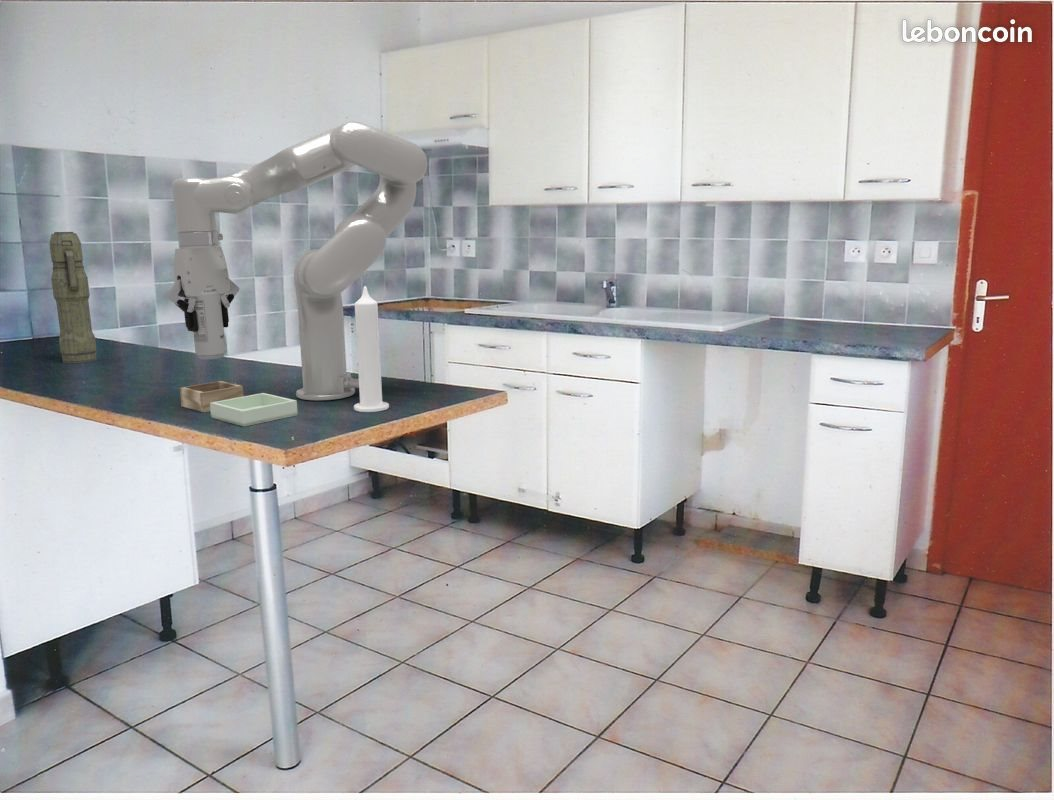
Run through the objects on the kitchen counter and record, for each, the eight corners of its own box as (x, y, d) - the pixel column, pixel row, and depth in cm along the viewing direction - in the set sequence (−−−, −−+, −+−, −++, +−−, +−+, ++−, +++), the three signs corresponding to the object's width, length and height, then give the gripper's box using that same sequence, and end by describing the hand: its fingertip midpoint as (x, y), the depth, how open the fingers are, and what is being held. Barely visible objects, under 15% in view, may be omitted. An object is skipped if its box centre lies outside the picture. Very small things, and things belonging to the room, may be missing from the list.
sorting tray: (297, 415, 175) (296, 400, 174) (243, 426, 166) (242, 411, 165) (264, 406, 182) (263, 392, 182) (211, 417, 174) (209, 402, 173)
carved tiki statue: (69, 365, 235) (52, 232, 228) (56, 360, 244) (39, 232, 236) (104, 361, 241) (88, 231, 234) (89, 356, 250) (74, 231, 242)
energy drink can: (231, 357, 182) (223, 284, 179) (201, 361, 178) (193, 287, 175) (220, 353, 187) (212, 283, 183) (192, 357, 183) (183, 285, 180)
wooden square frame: (244, 404, 185) (242, 386, 184) (203, 412, 178) (201, 393, 177) (221, 398, 191) (219, 380, 190) (181, 406, 184) (179, 387, 183)
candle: (377, 413, 175) (371, 288, 170) (347, 410, 178) (339, 287, 172) (395, 406, 182) (389, 284, 176) (365, 403, 184) (359, 284, 179)
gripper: (227, 238, 186) (236, 322, 190) (148, 243, 173) (159, 333, 177) (246, 238, 181) (255, 325, 185) (166, 243, 168) (177, 336, 173)
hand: (208, 328), depth 181 cm, fingers closed on energy drink can, 6 cm apart
